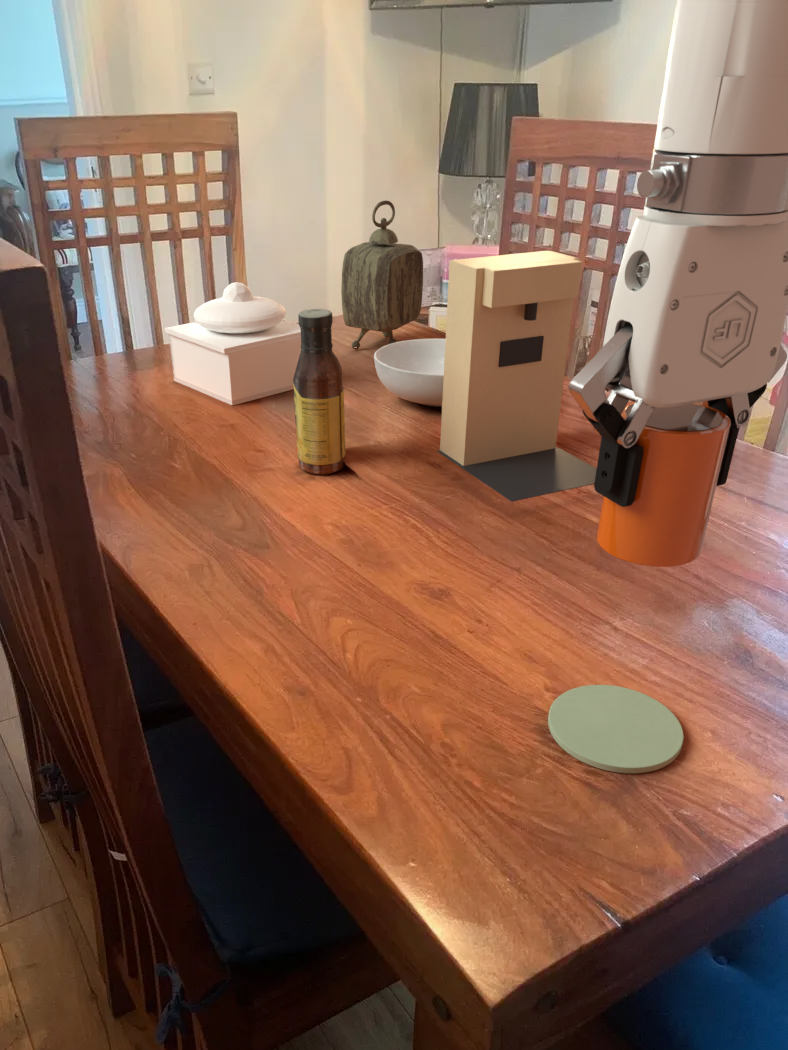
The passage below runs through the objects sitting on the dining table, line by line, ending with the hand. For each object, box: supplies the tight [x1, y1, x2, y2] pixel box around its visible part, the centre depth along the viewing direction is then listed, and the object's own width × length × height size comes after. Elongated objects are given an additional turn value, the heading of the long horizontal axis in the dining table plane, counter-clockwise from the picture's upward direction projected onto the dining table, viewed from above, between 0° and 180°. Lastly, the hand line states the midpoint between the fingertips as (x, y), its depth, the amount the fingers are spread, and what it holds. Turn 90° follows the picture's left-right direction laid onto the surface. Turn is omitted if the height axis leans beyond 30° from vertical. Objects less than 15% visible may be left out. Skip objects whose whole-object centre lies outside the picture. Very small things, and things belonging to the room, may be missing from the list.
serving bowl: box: [373, 337, 446, 408], centre depth 134 cm, size 21×21×7 cm
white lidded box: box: [164, 281, 301, 406], centre depth 140 cm, size 18×18×16 cm
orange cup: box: [596, 401, 731, 568], centre depth 56 cm, size 7×7×9 cm
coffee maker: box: [436, 250, 597, 503], centre depth 103 cm, size 18×15×25 cm
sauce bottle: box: [293, 308, 347, 476], centre depth 107 cm, size 6×6×20 cm
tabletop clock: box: [341, 200, 424, 350], centre depth 157 cm, size 14×9×25 cm, turn 145°
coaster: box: [547, 684, 685, 775], centre depth 67 cm, size 10×10×1 cm
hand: (659, 486), depth 56 cm, fingers closed on orange cup, 6 cm apart
